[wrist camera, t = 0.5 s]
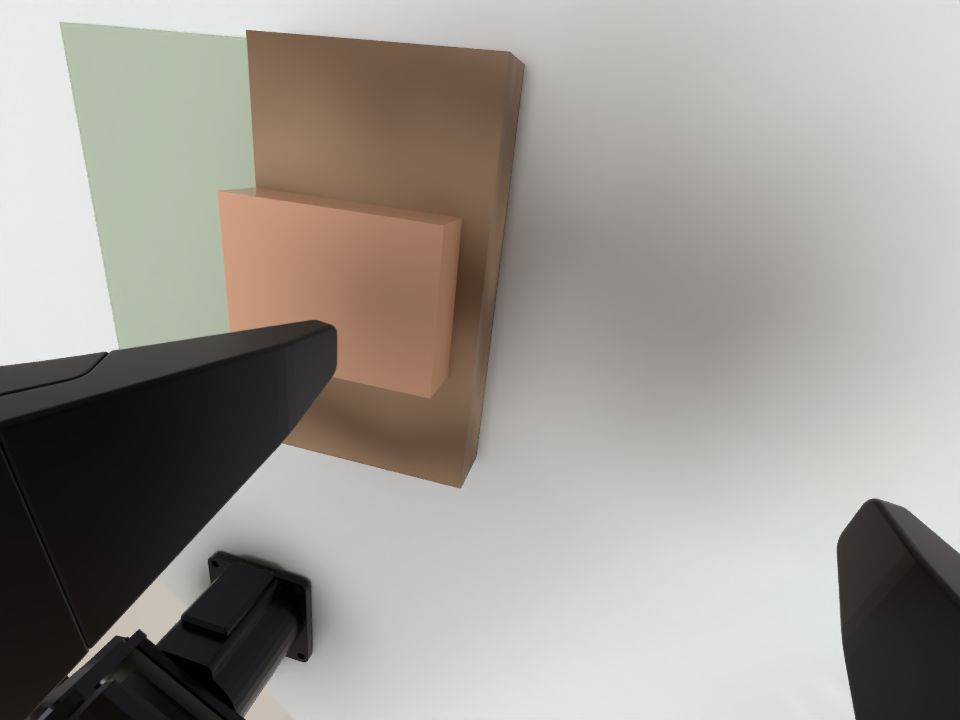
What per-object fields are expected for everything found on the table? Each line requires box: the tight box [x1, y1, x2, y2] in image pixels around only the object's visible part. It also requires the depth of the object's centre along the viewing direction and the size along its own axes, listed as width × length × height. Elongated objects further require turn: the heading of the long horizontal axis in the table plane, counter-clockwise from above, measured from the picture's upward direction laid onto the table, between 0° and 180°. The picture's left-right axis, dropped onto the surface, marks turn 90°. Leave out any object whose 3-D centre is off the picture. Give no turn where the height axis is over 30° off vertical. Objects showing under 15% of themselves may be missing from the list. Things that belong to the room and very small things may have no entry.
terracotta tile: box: [218, 187, 462, 399], centre depth 19 cm, size 6×8×2 cm
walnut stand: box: [246, 30, 524, 488], centre depth 21 cm, size 16×9×2 cm, turn 174°
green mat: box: [60, 22, 256, 350], centre depth 23 cm, size 16×10×1 cm, turn 173°
